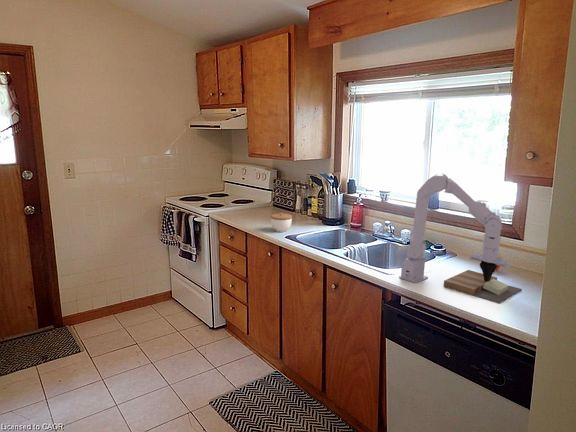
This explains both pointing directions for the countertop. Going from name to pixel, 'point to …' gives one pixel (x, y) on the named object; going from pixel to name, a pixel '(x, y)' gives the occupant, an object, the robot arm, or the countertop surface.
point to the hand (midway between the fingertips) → (486, 281)
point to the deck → (467, 282)
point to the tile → (495, 286)
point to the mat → (497, 298)
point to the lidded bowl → (281, 222)
